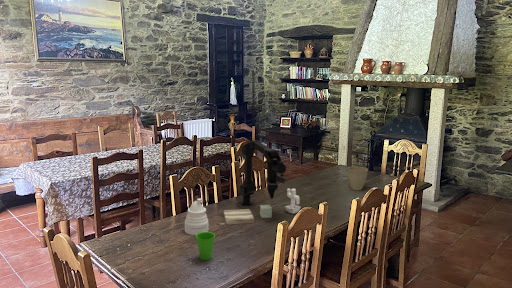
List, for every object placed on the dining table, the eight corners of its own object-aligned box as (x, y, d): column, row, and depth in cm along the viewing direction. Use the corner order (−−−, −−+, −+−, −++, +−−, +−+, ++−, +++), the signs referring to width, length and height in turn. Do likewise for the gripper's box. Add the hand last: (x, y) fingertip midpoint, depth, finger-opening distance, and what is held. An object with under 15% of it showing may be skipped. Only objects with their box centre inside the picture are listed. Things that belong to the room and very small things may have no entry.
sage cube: (259, 214, 238) (260, 205, 237) (269, 214, 239) (269, 204, 238) (261, 218, 232) (262, 208, 231) (271, 217, 233) (271, 208, 232)
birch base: (223, 214, 237) (223, 210, 236) (249, 213, 240) (249, 209, 239) (226, 224, 221) (226, 220, 221) (254, 222, 224) (254, 218, 224)
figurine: (294, 215, 237) (295, 192, 234) (283, 211, 244) (283, 188, 241) (302, 212, 242) (303, 189, 239) (290, 208, 248) (291, 186, 246)
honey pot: (212, 227, 216) (212, 196, 213) (201, 236, 204) (201, 203, 201) (191, 224, 220) (191, 193, 217) (180, 232, 208) (179, 200, 205)
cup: (196, 253, 185) (196, 231, 183) (215, 253, 186) (215, 231, 184) (195, 262, 176) (194, 239, 174) (215, 262, 177) (215, 239, 175)
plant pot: (369, 188, 297) (370, 168, 294) (363, 193, 284) (364, 172, 282) (350, 185, 305) (351, 165, 302) (343, 189, 292) (344, 169, 289)
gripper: (286, 174, 221) (286, 200, 224) (283, 167, 240) (283, 192, 242) (267, 174, 221) (267, 200, 223) (265, 167, 240) (265, 192, 242)
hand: (271, 196), depth 233 cm, fingers open, 9 cm apart
